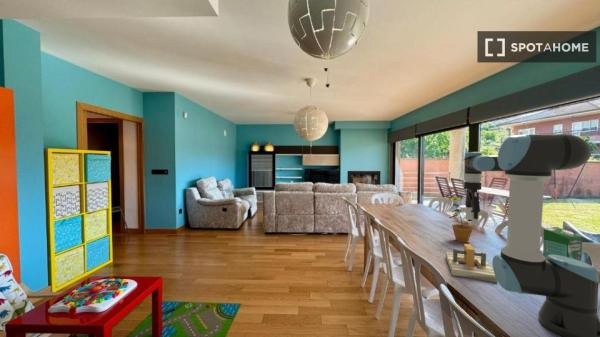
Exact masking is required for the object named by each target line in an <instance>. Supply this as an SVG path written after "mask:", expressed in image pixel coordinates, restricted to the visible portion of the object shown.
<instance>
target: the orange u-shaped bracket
mask: <svg viewBox="0 0 600 337" xmlns="http://www.w3.org/2000/svg"><path fill="white" fill-rule="evenodd" d="M463 250H465V251H466V252H467V255H466V254H463V255H464V262H466V263H465V267H469V268H475V265H474V252H475V249H474V247H473V246H472V244H469V243H463Z"/></svg>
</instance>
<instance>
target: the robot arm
mask: <svg viewBox="0 0 600 337" xmlns="http://www.w3.org/2000/svg"><path fill="white" fill-rule="evenodd" d="M591 155H592V148H591V145H590V144H589V143H588V142H587V141H586V140H585V139H583V138H582V137H580V136H577V135H573V134H568V133H557V134H553V133H552V134H550V133H549V134H518V135H511V136H508V137H507V138H506V139H504V141H503V142H502V143H501V145H500V147H499V150H498V153H497V155H486V154H483V153H482V152H480V151H469V152H468V151H467V152H466V153H465V154H464V158H463V161H464V163H463V164H464V171H463V180H464V183H463V188H464V189H465V190H466V195H465V204H464V205H465V217H466V218H465V220H468V219H469V220H472V221H471V226H479V218H480V216H479V214H480V212H481V208H480V197H479V194H480V193H479V192H478V191H480V190H482V178H483V175H482V172H504V175H505V176H506V177H507V178H508V179H509V195H508V196H509V197H508V209H507V210H508V212H507V213H508V214H507V231H506V232H507V233H506V246H503V247H501V248H500V254H496V255H493V258H492V262H491V263H492V269H493V271H494V273H495V276H496V279H497V283H498V284H499V285H500V287H501V288H502V289H504V290H505V291H507V292H511V293H512V292H513V293H518V294H524V295H525V294H527V295H532V296H533V295H534V296H542V297H545V300H544V301H543V303H542V306H541V307H540V309H539V310H538V322H539V323H540V324H541V325H542V326H543V327H544V328H545V329H547V330H549V331H551V332H552V333H555V334H557V335H558V336H561V337H600V317H599V315H598V301H599V298H598V297H599V284H600V277H599V272H598V270H597V268H596V267H595V266H592V265H590V264H589V263H587V262H584V261H582V260H581V261H579V260H575V259H572V258H568V257H564V256H560V255H553V254H551V255H548V256H547V257H546V258H547V260H546V258H545V257H544V256H543V253H541V239H542V223H543V211H544V210H543V208H544V205H543V204H544V193H545V181H546V180H548V179H550V178H551V177H552V171H564V170H566V171H567V170H573V169H576V168H580V167H581V166H584V164H586V163H587V162H588V161H589V159H590V158H591Z"/></svg>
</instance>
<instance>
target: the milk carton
mask: <svg viewBox="0 0 600 337" xmlns="http://www.w3.org/2000/svg"><path fill="white" fill-rule="evenodd" d="M542 246H543V247H542V249H543V250H542V255H543V256H544V257H545V258H546V257H547V256H548V255H551V254H553V255H560V256H564V257H568V258H572V259H575V260H579V261H582V257H583V254H582V251H583V250H582V249H583V236H580V235H579V234H576V233H574V232H572V231H570V230H567V229H563V228H561V227H559V226H553V227H544V228H543V245H542ZM546 260H547V258H546Z"/></svg>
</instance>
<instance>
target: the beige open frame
mask: <svg viewBox="0 0 600 337" xmlns="http://www.w3.org/2000/svg"><path fill="white" fill-rule="evenodd" d="M445 259H446V261H447V263H448V267H449V271H450V273H451V275H452V276H457V277H463V278H469V279H475V280H479V281H480V280H481V281H488V282H493V283H498V281H497V279H496V276H495V273H494V270H493V267H492V266H491V265H490V264H489V262H488V261H487V260H486V266H484V265H481V256H474V266H477V267H478V268H475V267H474V268H472V267H467V266H461V265H460V264H466V262H464V254H459V253H457V262H456V261H453V252H445Z"/></svg>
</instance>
